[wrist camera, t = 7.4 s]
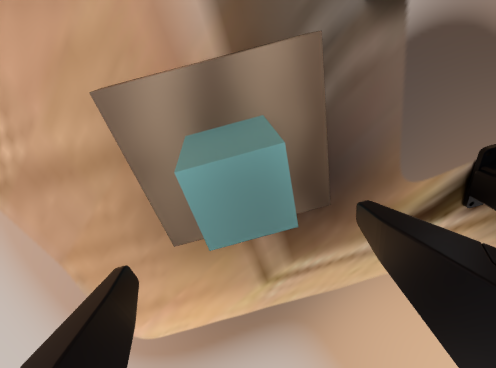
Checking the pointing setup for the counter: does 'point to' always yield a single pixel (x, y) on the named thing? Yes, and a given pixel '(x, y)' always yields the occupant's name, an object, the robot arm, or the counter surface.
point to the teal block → (237, 182)
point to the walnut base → (223, 120)
